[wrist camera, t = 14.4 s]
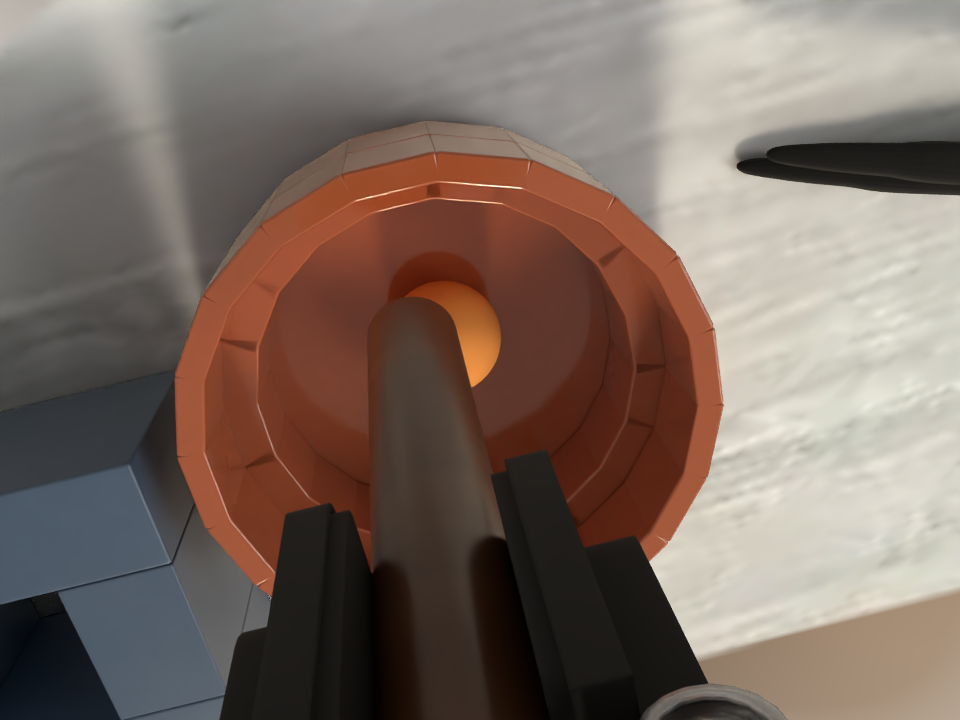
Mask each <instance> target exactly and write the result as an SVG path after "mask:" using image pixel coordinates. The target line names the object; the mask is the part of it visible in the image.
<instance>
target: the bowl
mask: <svg viewBox="0 0 960 720" xmlns="http://www.w3.org/2000/svg"><path fill="white" fill-rule="evenodd" d="M435 281H454V282H458V283H462V284H465V285H467V286H469V287H471V288H473V289H475V290H476V291H477V292H479V293H480V294H481V295H483V296H484V297H485V299H486V300H487V301H488V302H489V303H490V305H491V306H492V307H493V309H494V311H495V313H496V315H497V318H498V321H499V324H500V329H501V346H500V351H499V355H498V358H497V360H496V362H495V364H494V366H493V368H492V369H491V371H490V372H489V373H488V375H487V376H486V377H485V378H484V379H483V380H482V381H481V382H479V383H478V384H477V385H475V386H473V387H472V392H473V396H474V400H475V404H476V408H477V412H478V416H479V420H480V424H481V428H482V431H483V435H484V439H485V443H486V447H487V451H488V455H489V459H490V463H491V467H492V471H493V474H495V473H499V472H503V471H506V467H505V462H504V459H508V458H512V457H516V456H520V455H524V454H528V453H532V452H536V451H540V450H544V449H546V450H547V453H548V455H549V458H550V460H551V463H552V465H553V468H554V471H555V473H556V476H557V479H558V481H559V484H560V486H561V489H562V492H563V494H564V497H565V499H566V502H567V505H568V507H569V510H570V512H571V515H572V518H573V520H574V523H575V525H576V528H577V531H578V533H579V536H580V538H581V541H582V544H583V546H584V547H588V546H592V545H596V544H600V543H604V542H608V541H612V540H616V539H620V538H624V537H628V536H632V535H634V536H635V537H636V538H637V539H638V541H639V543H640V545H641V547H642V549H643V551H644V553H645V555H646V557H647V559H648V561H650V560H651V559H652V558H653V557H654V556H655V555H657V554H658V553H659V552H660V551H661V550H662V549H663V548H664V547H665V546H666V545H667V544H668V541H670V540H671V539H672V537H673V535H674V533H675V532H676V530H677V528H678V527H679V525H680V523H681V521H682V520H683V518H684V516H685V515H686V513H687V511H688V509H689V508H690V506H691V504H692V503H693V501H694V499H695V497H696V496H697V494H698V492H699V491H700V489H701V487H702V485H703V484H704V482H705V480H706V477H708V474H709V469H710V465H711V460H712V456H713V451H714V447H715V442H716V438H717V433H718V429H719V424H720V420H721V415H722V411H723V406H724V405H723V394H722V386H721V377H720V369H719V360H718V352H717V343H716V335H715V329H714V327H713V322H712V320H711V318H710V316H709V314H708V312H707V310H706V309H705V307H704V305H703V303H702V301H701V299H700V297H699V295H698V293H697V291H696V289H695V287H694V285H693V283H692V281H691V279H690V277H689V275H688V273H687V271H686V269H685V267H684V265H683V263H682V261H681V259H680V257H679V256H678V255H677V254H676V252H675V251H674V250H673V249H672V248H671V247H670V246H669V245H668V244H667V243H666V242H665V241H663V240H662V239H661V238H660V237H659V236H658V235H657V234H656V233H655V232H654V231H653V230H652V229H651V228H650V227H648V226H647V225H646V224H645V223H644V222H643V221H642V220H641V219H640V218H639V217H638V216H637V215H636V214H635V213H634V212H632V211H631V210H630V209H629V208H628V207H627V206H626V205H625V204H624V203H623V202H622V201H621V200H620V199H619V198H617V197H616V196H615V195H614V194H613V193H611V192H610V191H609V190H608V189H607V188H605V187H604V186H603V185H602V184H601V183H599V182H598V181H597V180H596V179H595V178H593V177H592V176H591V175H590V174H589V173H587V172H586V171H585V170H584V169H583V168H581V167H580V166H579V165H578V164H577V163H575V162H574V161H573V160H571V159H570V158H569V157H567V156H565V155H563V154H560V153H558V152H556V151H554V150H551V149H549V148H547V147H545V146H542V145H540V144H538V143H536V142H533V141H531V140H529V139H527V138H524V137H522V136H520V135H518V134H515V133H513V132H511V131H509V130H506V129H502V128H500V127H492V126H481V125H470V124H459V123H448V122H437V121H420V122H416V123H412V124H408V125H403V126H399V127H395V128H391V129H387V130H382V131H378V132H374V133H370V134H365V135H361V136H357V137H353V138H351V139H350V140H346V141H344V142H342V143H341V144H339V145H338V146H336V147H334V148H333V149H331V150H330V151H328V152H326V153H325V154H323V155H322V156H320V157H318V158H317V159H315V160H314V161H312V162H310V163H309V164H307V165H306V166H304V167H302V168H301V169H299V170H298V171H296V172H294V173H293V174H291V175H290V176H288V177H286V179H285V180H283V181H282V182H281V183H280V184H279V186H278V187H277V188H276V189H275V191H274V192H273V193H272V194H271V196H270V197H269V198H268V199H267V201H266V202H265V203H264V204H263V206H262V207H261V208H260V209H259V210H258V212H257V213H256V214H255V215H254V217H253V218H252V219H251V220H250V222H249V223H248V224H247V225H246V227H245V228H244V229H243V230H242V232H241V233H240V234H239V235H238V237H237V239H236V240H235V242H234V243H233V245H232V247H231V248H230V250H229V252H228V253H227V255H226V256H225V258H224V260H223V262H222V263H221V265H220V266H219V268H218V270H217V271H216V273H215V275H214V276H213V278H212V279H211V281H210V283H209V284H208V286H207V288H206V289H205V291H204V293H203V294H202V296H201V298H200V301H199V304H198V307H197V310H196V312H195V315H194V318H193V321H192V324H191V327H190V330H189V333H188V336H187V339H186V342H185V344H184V347H183V350H182V353H181V356H180V359H179V362H178V365H177V368H176V371H175V378H174V389H175V424H176V453H177V459H178V462H179V464H180V467H181V469H182V472H183V474H184V477H185V479H186V482H187V484H188V487H189V489H190V492H191V494H192V497H193V499H194V501H195V504H196V506H197V509H198V511H199V514H200V516H201V519H202V521H203V524H204V526H205V528H207V530H208V532H209V533H210V534H211V535H212V536H213V538H214V539H215V540H216V541H217V542H218V543H219V545H220V546H221V547H222V548H223V549H224V550H225V551H226V553H227V554H228V555H229V556H230V557H231V558H232V559H233V561H234V562H235V563H236V564H237V565H238V566H239V568H240V569H241V570H242V571H243V572H244V573H245V574H246V576H247V577H248V578H249V579H250V580H251V581H252V583H253V584H254V585H256V586H257V585H258V588H259V589H260V590H262V591H264V592H265V593H267V594H269V595H270V596H272V592H273V586H274V580H275V574H276V568H277V562H278V556H279V550H280V544H281V538H282V531H283V525H284V519H285V516H286V514H287V513H290V512H294V511H298V510H302V509H306V508H310V507H314V506H318V505H322V504H326V503H331V504H332V505H333V507H334V509H335V511H336V513H338V512H342V511H346V510H350V511H351V513H352V515H353V518H354V520H355V523H356V527H357V530H358V533H359V536H360V539H361V542H362V545H363V548H364V551H365V554H366V558H367V561H368V564H369V567H370V570H371V520H370V468H369V416H368V364H367V333H368V329H369V325H370V323H371V321H372V319H373V318H374V316H375V315H376V313H377V312H378V311H379V310H380V309H381V308H382V307H384V306H385V305H387V304H388V303H390V302H392V301H394V300H397V299H399V298H404V297H405V296H406V295H407V294H408V293H409V292H411V291H412V290H414V289H416V288H417V287H419V286H421V285H424V284H426V283H430V282H435ZM371 573H372V572H371Z"/></svg>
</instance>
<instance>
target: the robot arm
mask: <svg viewBox="0 0 960 720" xmlns="http://www.w3.org/2000/svg"><path fill="white" fill-rule="evenodd" d="M504 462H505V467H506V471H503V472H499V473H495V474H491V480H492V484H493V488H494V492H495V496H496V500H497V504H498V508H499V512H500V517H501V521H502V525H503V529H504V533H505V537H506V541H507V545H508V549H509V553H510V557H511V562H512V566H513V570H514V574H515V578H516V582H517V586H518V590H519V594H520V598H521V602H522V606H523V610H524V614H525V618H526V623H527V627H528V631H529V635H530V639H531V643H532V647H533V651H534V655H535V659H536V663H537V667H538V671H539V675H540V679H541V683H542V688H543V692H544V696H545V700H546V704H547V708H548V712H549V716H550V720H788V719H787V718H786V717H785V716H784V714H783V713H782V712H781V711H780V710H779V709H778V707H776V706H775V705H773V704H772V703H770V702H769V701H767V700H766V699H764V698H763V697H761V696H760V695H758V694H756V693H753V692H750V691H747V690H744V689H741V688H738V687H736V686H728V685H718V684H708V682H707V680H706V678H705V676H704V674H703V671H702V670H701V667H700V665H699V663H698V661H697V659H696V657H695V655H694V653H693V651H692V649H691V647H690V645H689V643H688V641H687V639H686V637H685V635H684V633H683V631H682V628H681V626H680V624H679V622H678V620H677V618H676V616H675V614H674V612H673V610H672V608H671V606H670V604H669V602H668V600H667V598H666V596H665V594H664V592H663V590H662V588H661V585H660V583H659V581H658V579H657V577H656V575H655V573H654V571H653V569H652V567H651V565H650V563H649V561H648V559H647V557H646V555H645V553H644V551H643V549H642V547H641V545H640V543H639V541H638V539H637V538H636V537H635V536H634V535H632V536H628V537H624V538H620V539H616V540H612V541H608V542H604V543H600V544H596V545H592V546H588V547H584V546H583V544H582V541H581V538H580V536H579V533H578V531H577V528H576V525H575V523H574V520H573V518H572V515H571V512H570V510H569V507H568V505H567V502H566V499H565V497H564V494H563V492H562V489H561V486H560V484H559V481H558V479H557V476H556V473H555V471H554V468H553V465H552V463H551V460H550V458H549V455H548V453H547V450H546V449H544V450H540V451H536V452H532V453H528V454H524V455H520V456H516V457H512V458H508V459H504ZM219 720H375V707H374V656H373V606H372V573H371V570H370V567H369V564H368V561H367V558H366V554H365V551H364V548H363V545H362V542H361V539H360V536H359V533H358V530H357V527H356V523H355V520H354V518H353V515H352V513H351V511H350V510H346V511H342V512H338V513H336V511H335V509H334V507H333V505H332V504H331V503H326V504H322V505H318V506H314V507H310V508H306V509H302V510H298V511H294V512H290V513H287V514H286V516H285V519H284V525H283V531H282V538H281V544H280V550H279V556H278V562H277V568H276V574H275V580H274V586H273V592H272V598H271V604H270V610H269V616H268V622H267V627H263V628H259V629H255V630H251V631H247V632H243V633H242V634H241V635H239V636H238V638H237V641H236V644H235V647H234V652H233V657H232V662H231V666H230V671H229V676H228V681H227V686H226V690H225V695H224V700H223V705H222V709H221V714H220V719H219Z"/></svg>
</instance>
